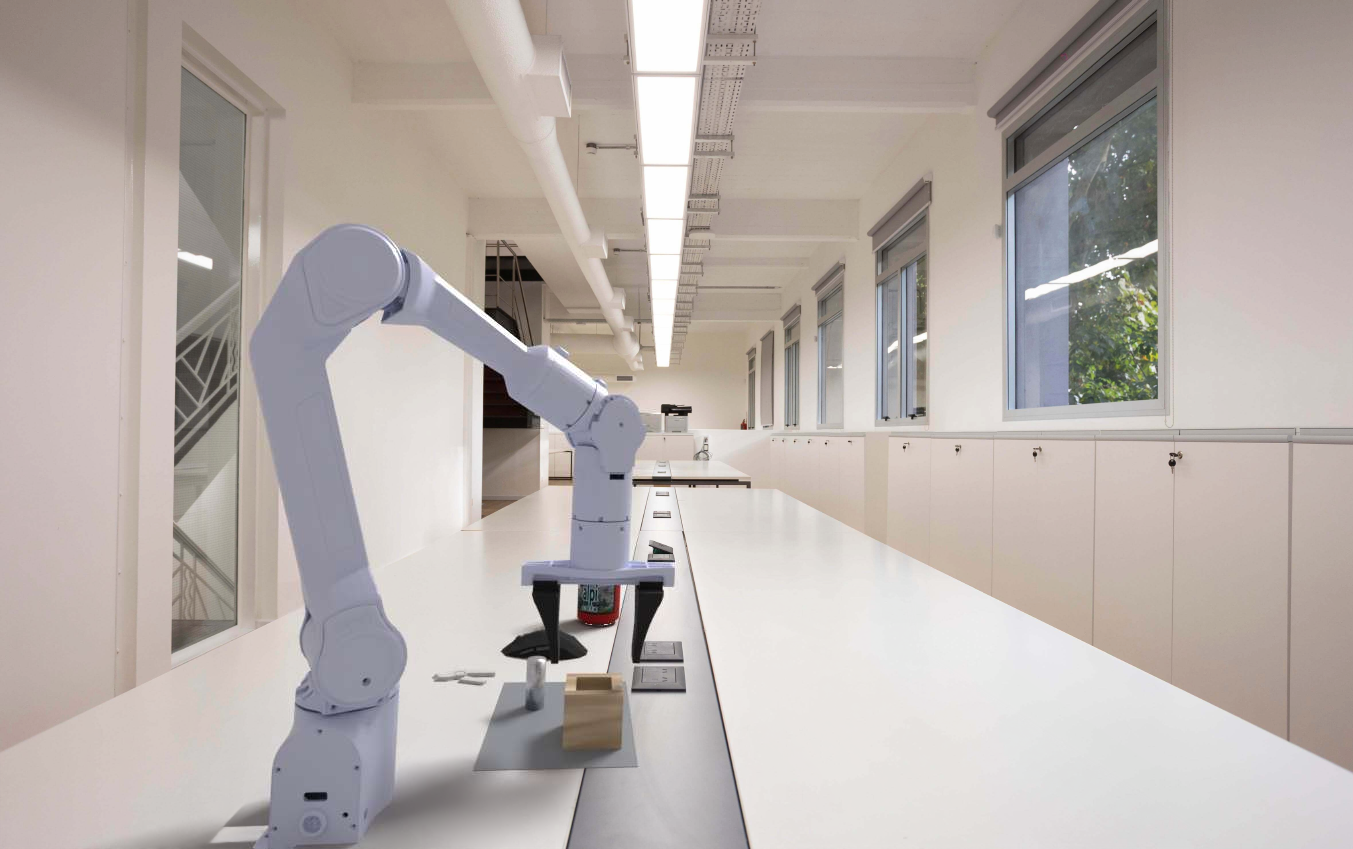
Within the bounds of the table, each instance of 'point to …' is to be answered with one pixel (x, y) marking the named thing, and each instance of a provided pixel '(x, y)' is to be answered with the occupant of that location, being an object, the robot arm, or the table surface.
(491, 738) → the slate board
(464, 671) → the pliers
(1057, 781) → the table surface
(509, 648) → the gaming mouse
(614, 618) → the beverage can
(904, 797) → the table surface
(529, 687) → the steel post
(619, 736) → the birch collar
